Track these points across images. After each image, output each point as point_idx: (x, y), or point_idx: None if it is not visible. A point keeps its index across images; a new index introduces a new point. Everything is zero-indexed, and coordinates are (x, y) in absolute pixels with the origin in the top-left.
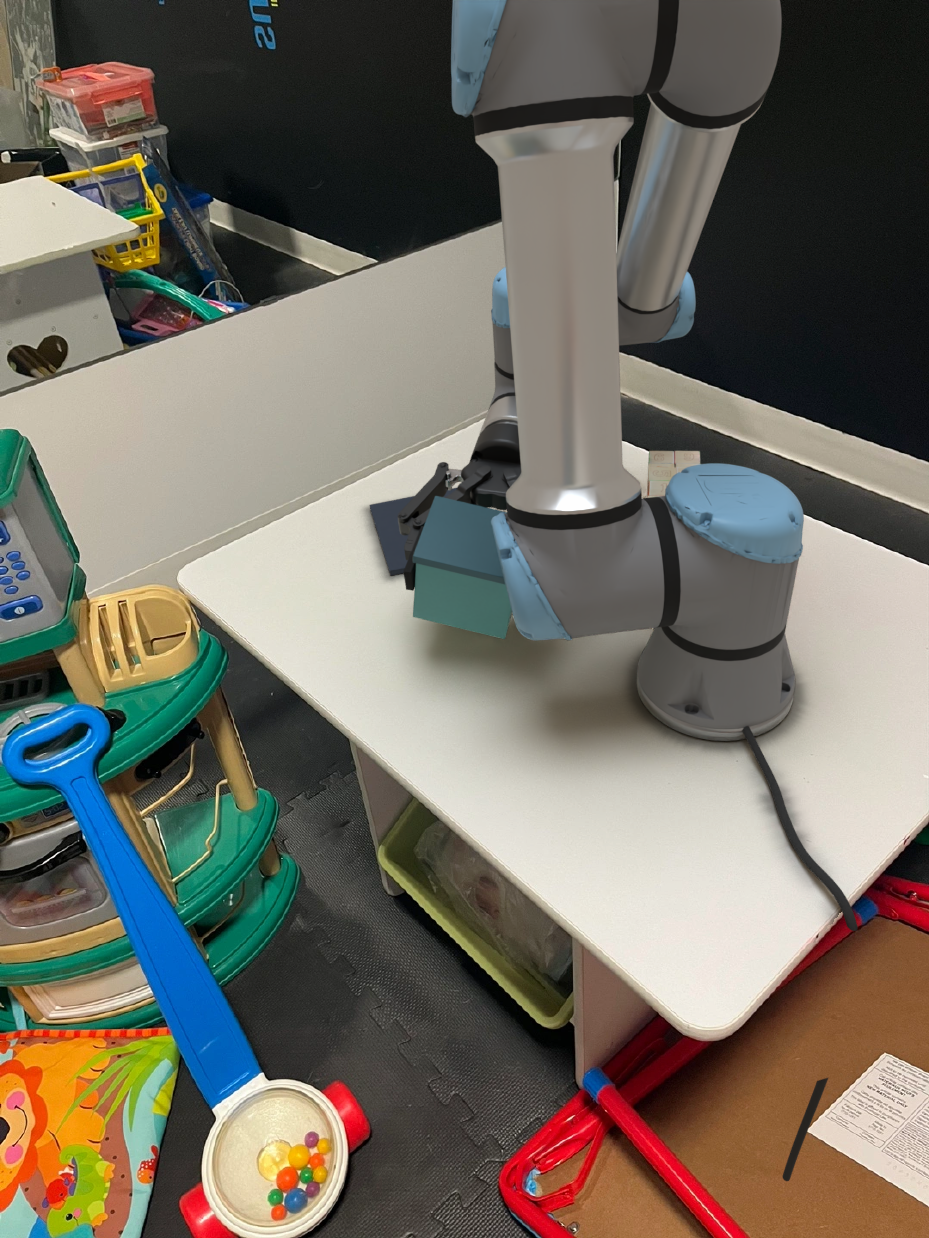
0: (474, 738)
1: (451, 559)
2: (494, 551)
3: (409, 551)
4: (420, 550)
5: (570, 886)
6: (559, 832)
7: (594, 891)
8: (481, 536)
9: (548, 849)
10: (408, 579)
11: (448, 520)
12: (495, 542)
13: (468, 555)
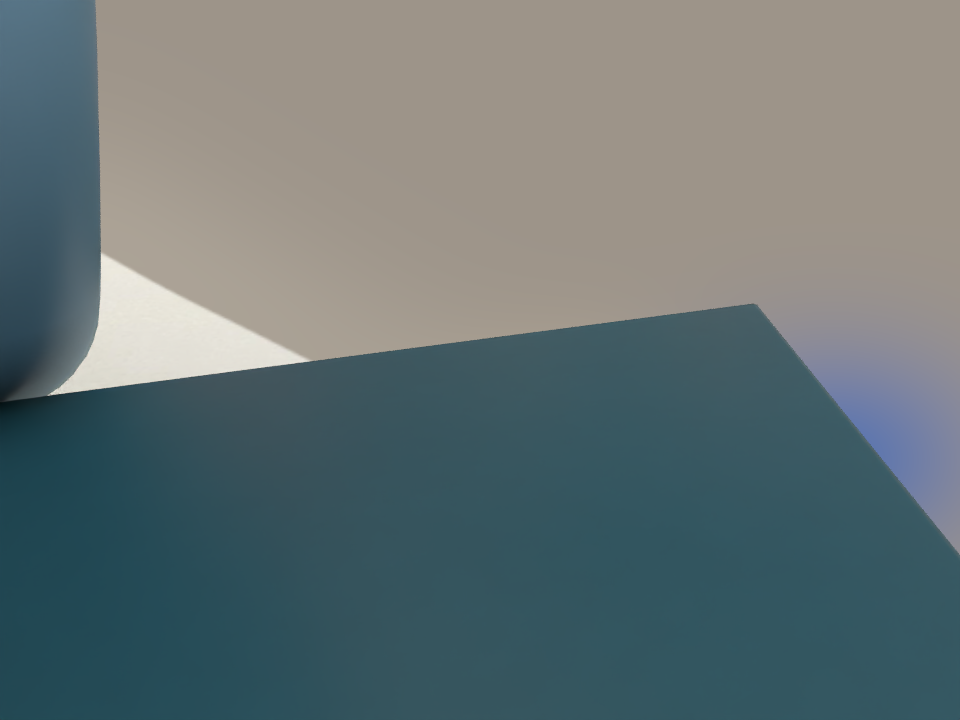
0: None
1: (483, 359)
2: (135, 486)
3: None
4: (733, 328)
5: (107, 296)
6: (107, 368)
7: None
8: (252, 545)
9: (140, 342)
10: None
11: (676, 580)
12: (97, 80)
13: (362, 407)
